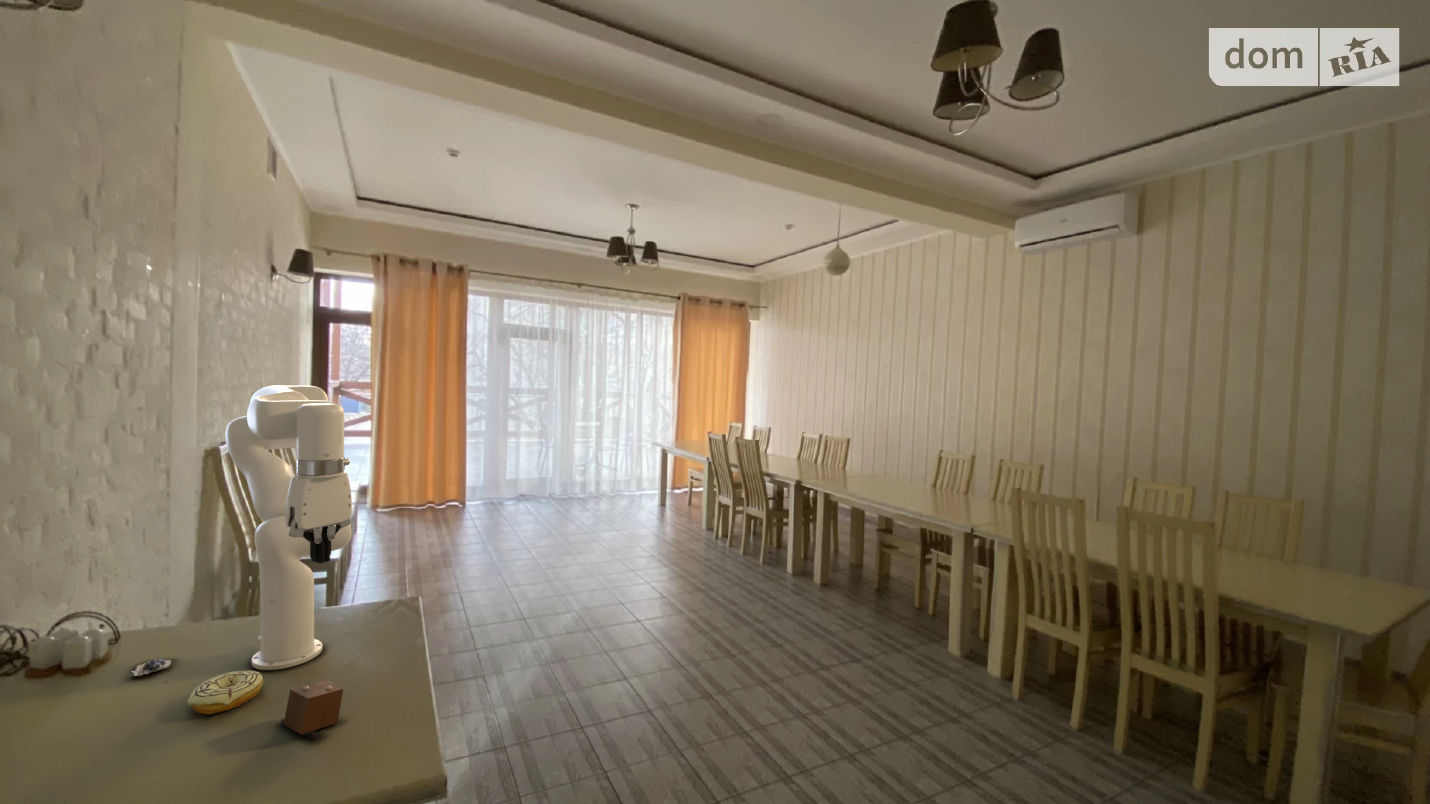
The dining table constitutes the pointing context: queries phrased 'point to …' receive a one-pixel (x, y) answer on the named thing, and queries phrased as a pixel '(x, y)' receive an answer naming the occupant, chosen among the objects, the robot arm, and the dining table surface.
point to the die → (313, 706)
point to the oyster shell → (151, 667)
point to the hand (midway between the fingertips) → (320, 561)
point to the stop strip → (311, 734)
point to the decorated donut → (225, 691)
